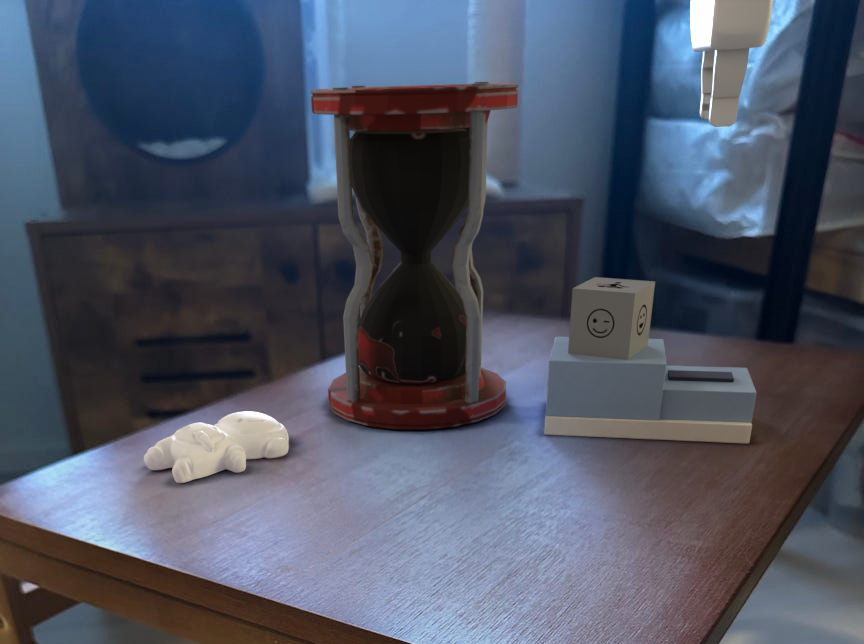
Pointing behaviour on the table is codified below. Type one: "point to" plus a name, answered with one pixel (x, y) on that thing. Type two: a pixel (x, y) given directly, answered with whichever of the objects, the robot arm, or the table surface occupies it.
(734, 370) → the stepped block with slot
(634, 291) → the beige smiley face cube
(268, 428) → the astronaut figurine
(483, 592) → the table surface
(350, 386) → the hourglass
